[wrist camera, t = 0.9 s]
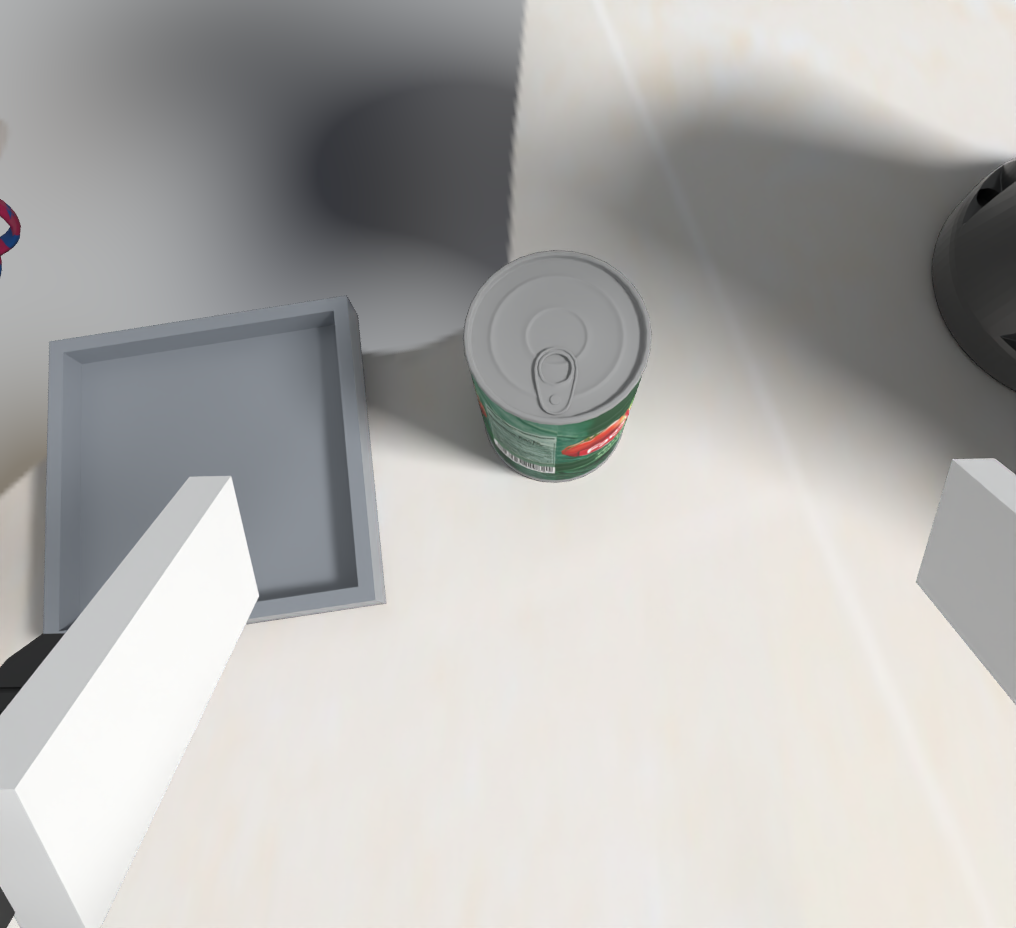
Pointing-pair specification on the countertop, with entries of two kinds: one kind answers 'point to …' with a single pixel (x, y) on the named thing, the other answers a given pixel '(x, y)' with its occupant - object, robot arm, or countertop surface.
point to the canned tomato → (556, 361)
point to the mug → (13, 234)
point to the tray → (217, 452)
